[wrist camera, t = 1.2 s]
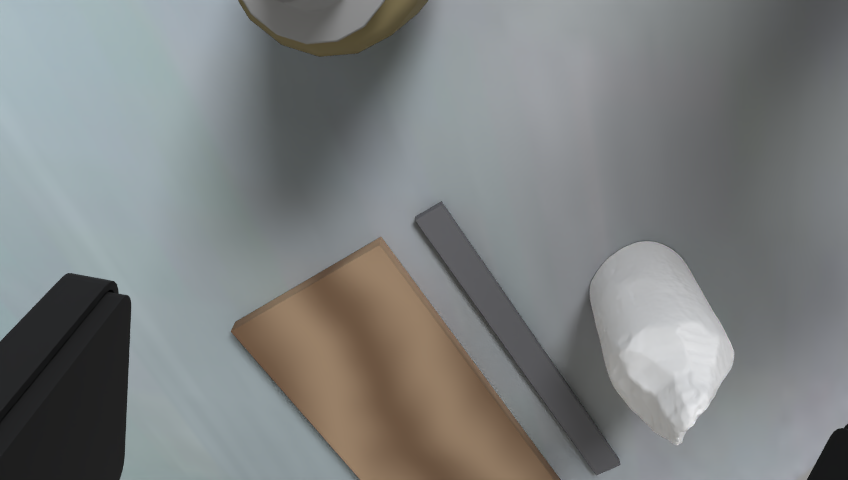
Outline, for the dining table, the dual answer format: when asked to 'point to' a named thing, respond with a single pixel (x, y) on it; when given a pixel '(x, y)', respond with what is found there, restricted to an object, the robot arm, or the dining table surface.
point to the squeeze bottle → (330, 22)
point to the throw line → (516, 336)
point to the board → (387, 377)
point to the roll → (659, 337)
